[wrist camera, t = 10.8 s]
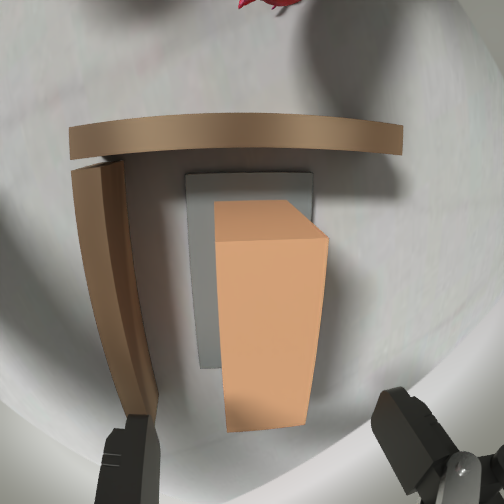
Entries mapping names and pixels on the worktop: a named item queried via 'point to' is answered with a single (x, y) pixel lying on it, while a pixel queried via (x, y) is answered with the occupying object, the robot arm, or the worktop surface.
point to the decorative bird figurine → (269, 2)
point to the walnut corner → (116, 216)
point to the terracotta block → (268, 310)
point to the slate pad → (203, 236)
